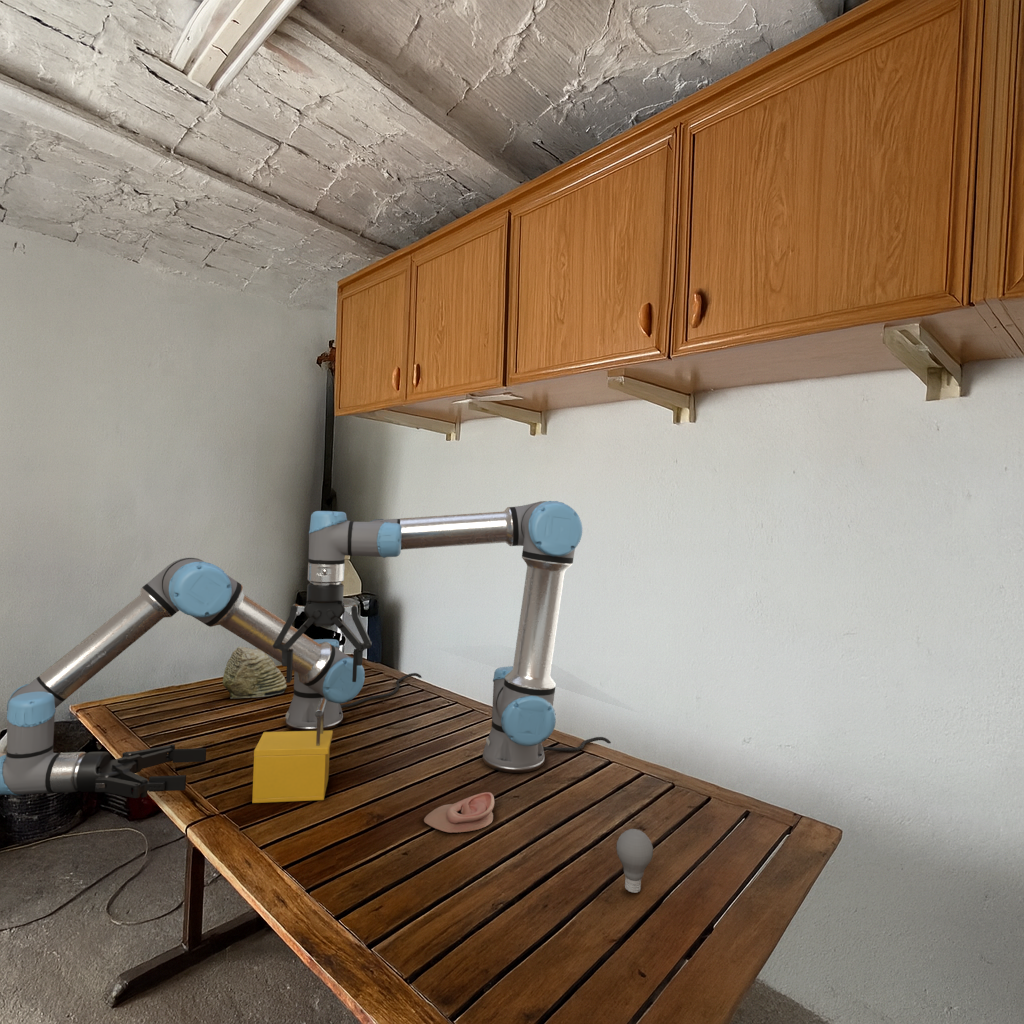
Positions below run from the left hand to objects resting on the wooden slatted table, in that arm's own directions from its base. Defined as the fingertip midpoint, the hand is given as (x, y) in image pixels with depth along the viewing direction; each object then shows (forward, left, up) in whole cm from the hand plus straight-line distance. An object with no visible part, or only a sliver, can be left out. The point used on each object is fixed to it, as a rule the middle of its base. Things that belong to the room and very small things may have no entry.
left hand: (196, 768), depth 132 cm
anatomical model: (-31, +47, -6) cm, 56 cm away
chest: (-15, +12, -6) cm, 20 cm away
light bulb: (-33, +84, -6) cm, 91 cm away
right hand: (-19, +16, +18) cm, 31 cm away
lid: (-15, +13, +4) cm, 20 cm away
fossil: (-42, -52, -6) cm, 68 cm away
